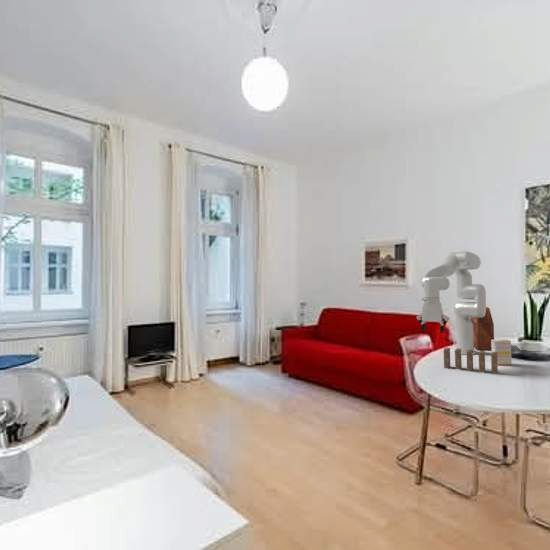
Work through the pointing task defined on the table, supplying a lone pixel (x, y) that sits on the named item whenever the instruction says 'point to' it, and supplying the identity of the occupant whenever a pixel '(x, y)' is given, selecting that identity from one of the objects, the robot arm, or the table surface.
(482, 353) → the domino
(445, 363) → the domino
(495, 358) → the domino
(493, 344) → the supplement box
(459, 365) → the domino
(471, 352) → the domino
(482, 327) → the handbag
